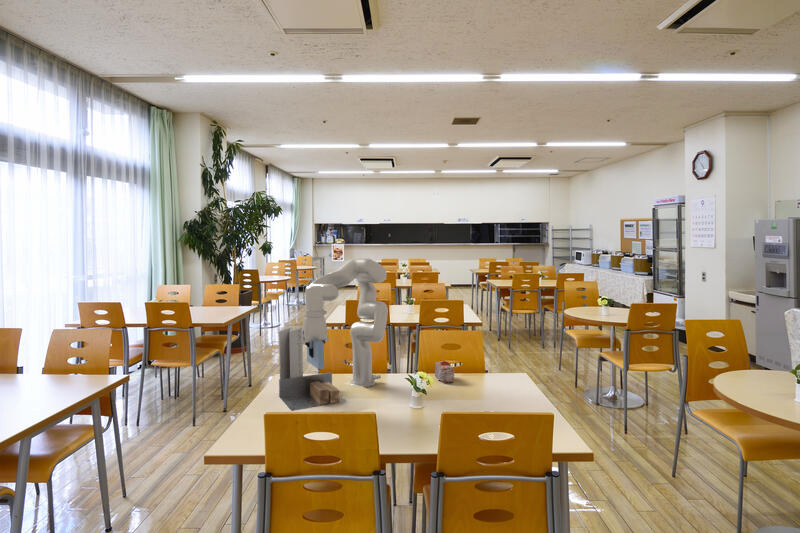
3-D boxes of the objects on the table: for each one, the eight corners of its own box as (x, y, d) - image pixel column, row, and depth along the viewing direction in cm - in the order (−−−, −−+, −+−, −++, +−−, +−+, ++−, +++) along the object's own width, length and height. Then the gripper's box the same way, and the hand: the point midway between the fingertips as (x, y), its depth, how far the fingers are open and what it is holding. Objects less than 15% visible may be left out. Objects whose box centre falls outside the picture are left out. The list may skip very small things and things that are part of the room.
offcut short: (328, 392, 223) (328, 382, 222) (339, 401, 210) (339, 390, 210) (320, 393, 221) (320, 383, 221) (330, 402, 208) (330, 391, 208)
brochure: (291, 395, 222) (290, 331, 221) (280, 394, 223) (278, 331, 222) (303, 386, 236) (302, 326, 235) (292, 385, 237) (291, 326, 236)
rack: (331, 390, 229) (331, 372, 228) (347, 403, 210) (347, 383, 210) (279, 398, 217) (278, 379, 217) (291, 413, 198) (291, 391, 198)
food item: (456, 383, 241) (456, 363, 240) (441, 384, 238) (441, 365, 238) (446, 376, 254) (446, 357, 253) (432, 377, 252) (432, 358, 251)
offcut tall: (318, 394, 220) (318, 381, 220) (328, 403, 208) (328, 389, 208) (310, 395, 218) (310, 382, 218) (319, 404, 206) (319, 390, 206)
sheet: (312, 360, 213) (312, 336, 213) (324, 368, 199) (323, 342, 199) (307, 361, 212) (306, 336, 212) (318, 369, 198) (318, 343, 197)
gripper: (329, 311, 212) (330, 352, 212) (293, 314, 204) (294, 357, 205) (335, 314, 205) (335, 356, 206) (298, 316, 197) (299, 360, 198)
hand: (315, 356), depth 205 cm, fingers closed on sheet, 2 cm apart
